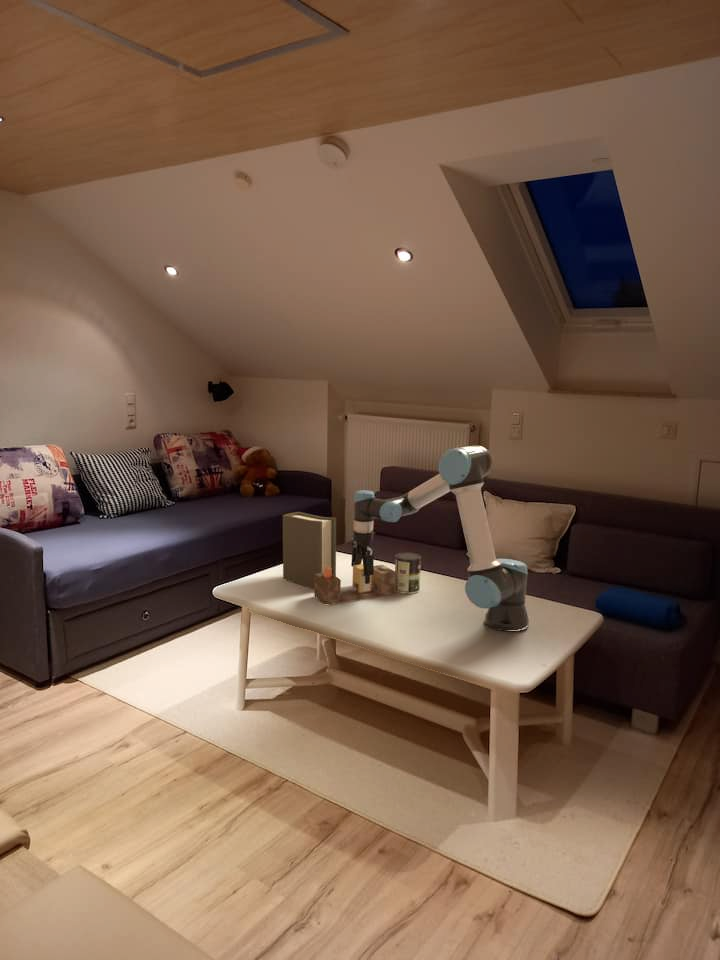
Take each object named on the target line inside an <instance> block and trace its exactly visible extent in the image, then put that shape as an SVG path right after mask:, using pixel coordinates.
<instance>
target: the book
mask: <svg viewBox="0 0 720 960" xmlns="http://www.w3.org/2000/svg"><path fill="white" fill-rule="evenodd" d="M282 563H283V564H282V578H283V579H282V580H284V579H286V580H285V581H288V580H289V581H288V582H291V581H293V582H292V583H295V582H296V583H295V584H300V585H303V586H306V587H310V588H311V589H314V584H315V574H319V573H324V567H331V568H332V574H333V575H334V576H336V577H337V517H326V516H319V515H314V514H311V513H306V512H301V511H295V512H289V513H285V514H283V515H282Z"/></svg>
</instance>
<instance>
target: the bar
mask: <svg viewBox="0 0 720 960" xmlns="http://www.w3.org/2000/svg"><path fill="white" fill-rule="evenodd" d="M375 587H376V584H374V583H371V590H375ZM356 592H358V585H354V586H352V585H349V586H341V588H340V595H343V594H349V593H356Z"/></svg>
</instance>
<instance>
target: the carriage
mask: <svg viewBox="0 0 720 960" xmlns="http://www.w3.org/2000/svg"><path fill="white" fill-rule="evenodd" d="M362 574H364V569H363V563H361V564H358V565H353V567H352V585H351V586H354V585H358V592H359V593H363V591H362V586H363V575H362ZM371 578H372V575H370V588H369V591H371ZM369 591H365V592H369Z"/></svg>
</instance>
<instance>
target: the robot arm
mask: <svg viewBox="0 0 720 960" xmlns="http://www.w3.org/2000/svg"><path fill="white" fill-rule="evenodd" d="M493 461H494V459H493V455H492V454H491V452H490V451H489V449H487V448H486V447H484V446H482V445H479V444H478V445H475V444H474V445H469V446H459V447H454V448H451V449H448V450H447V451H446V452H444V453H443V455H442V456H441V458H440V460H439V461H438V462H439V464H438V474H436V475H435V476H433V477H432V478H429V479H428V480H427V481H425V482H423V483H422V484H420V485H418V486H417V487H415V488H413V489H412V490H410V491H408V492H406V493H405V494H403V495H401V496H397V497H392V498H389V499H380V498H376V496H375V492H374V491H372V490H368V489H367V490H365V489H361V490H357V491H356V492H355V493H354V501H353V506H354V507H353V508H354V509H353V511H354V512H353V513H354V514H353V535H352V536H353V542H351V547H352V548H351V562H350V563H351V565H350V566H351V567H352V568H353V565H358V564H363V569H364V574H362V575H363V586H362V591H363V592H365V591H369V588H370V575H373V574H374V566H375V564H374V554H375V549H372V548H371V542H373V540H374V531H373V530H374V524H375V522H374V520H376V519H377V520H380V521H384V522H388V523H396V522H398V521H399V520H400V518H401V517H404V516H409V515H413V514H415V513H417V512H419V510H420V509H421V508H423V507H424V506H426V505H428V504H429V503H432V502H433V501H436V500H437V499H438V498H441V497H443V496H444V495H446V494H448V493H449V492H452V493H453V494H454V495H455V499H456V503H457V508H458V512H459V517H460V520H461V521H460V522H461V527H462V529H463V530H462V531H463V534H464V539H465V544H466V548H467V553H468V557H469V563H470V565H469V566H468V568H467V575H468V579H467V580H466V583H465V586H464V591H465V594H466V597H467V599H468V600H469V601H470V603H471V604H472V605H474V606H476V607H477V608H480V609H487V612H486V613H485V616H484V623H485V625H487V626H488V627H489V626H490V627H489V628H491V627H492V628H491V629H494V628H495V629H494V630H497V629H499V630H498V631H501V630H518V629H522V628H524V627H526V626H527V625H528V626H529V621H530V620H529V617H528V612H527V608H526V607H527V606H526V594H527V584H528V582H527V581H528V575H529V572H528V565H527V564H526V563H525V562H522V561H520V560H515V559H511V558H497V557H496V552H495V549H494V544H493V543H494V542H493V539H492V535H491V530H490V525H489V522H488V521H489V520H488V517H487V512H486V508H485V503H484V499H483V495H482V490H481V489H482V487H483V486H484V484H485V481H484V477H486V476H487V475H488V474H489V473H490V472H491V470H492V468H493V464H494V463H493ZM500 629H501V630H500Z"/></svg>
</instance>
